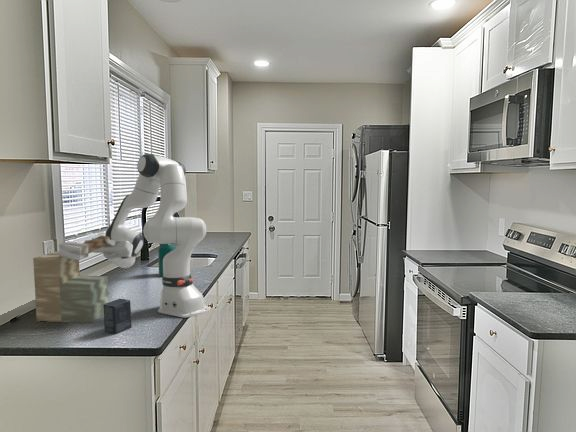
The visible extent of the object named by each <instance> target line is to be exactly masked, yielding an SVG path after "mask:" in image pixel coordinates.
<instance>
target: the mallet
mask: <svg viewBox="0 0 576 432" xmlns="http://www.w3.org/2000/svg"><path fill="white" fill-rule="evenodd" d="M105 239H110V237H108V236H106V235H99V236H98V237H94V239H92V238H91V239H88V240H89V241H87V242H76V241H70V240H68V241H67V240H66V241H64V242H62V243H59V245H58V249H59V250H58V252H59V257H64V258H69V259H75V260H79V261H81V260H84V259H86V258H88V257H89V254H90V253H93V252H92V251H94V250H96V249H99V248H101V247H103V246H105V245H107V243H105V242H104V241H105Z"/></svg>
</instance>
